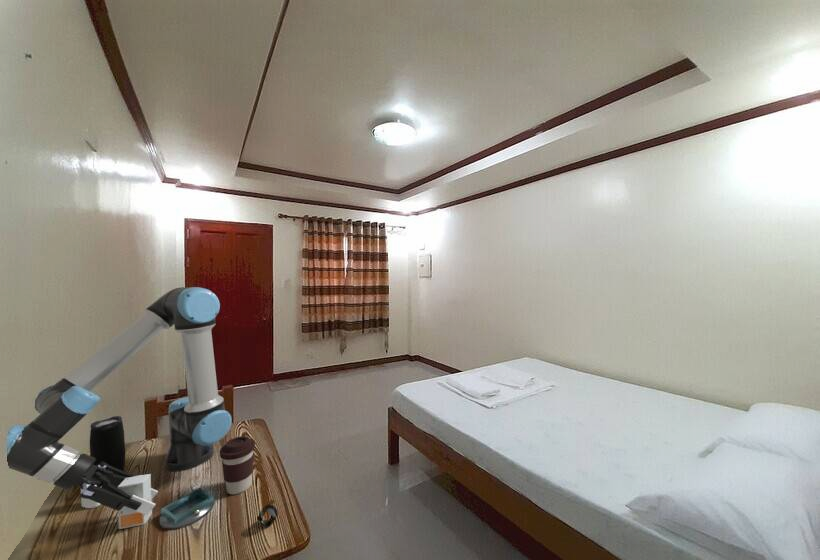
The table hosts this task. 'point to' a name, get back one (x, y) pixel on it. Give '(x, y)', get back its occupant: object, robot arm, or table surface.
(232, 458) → the coffee cup
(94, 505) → the eye dropper bottle
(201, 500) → the keyed nest
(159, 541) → the table surface
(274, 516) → the smartwatch
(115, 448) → the portable speaker
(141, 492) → the skincare box
